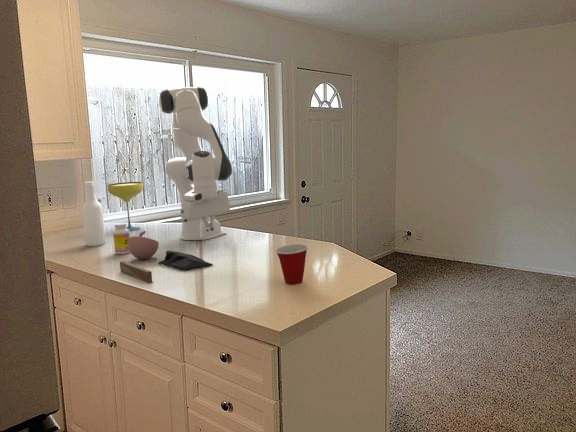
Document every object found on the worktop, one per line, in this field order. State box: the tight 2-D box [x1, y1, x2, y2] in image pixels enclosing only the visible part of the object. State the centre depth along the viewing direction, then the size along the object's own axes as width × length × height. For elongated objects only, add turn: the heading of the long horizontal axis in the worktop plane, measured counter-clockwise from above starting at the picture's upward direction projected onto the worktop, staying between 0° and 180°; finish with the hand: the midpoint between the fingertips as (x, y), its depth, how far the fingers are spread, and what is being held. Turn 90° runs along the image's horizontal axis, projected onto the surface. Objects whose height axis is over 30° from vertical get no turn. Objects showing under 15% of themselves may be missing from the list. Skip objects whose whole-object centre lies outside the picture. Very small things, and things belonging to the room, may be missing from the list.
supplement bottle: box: [112, 222, 131, 255], centre depth 215 cm, size 7×7×13 cm
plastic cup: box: [275, 243, 309, 286], centre depth 162 cm, size 11×11×12 cm
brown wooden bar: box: [119, 260, 153, 284], centre depth 177 cm, size 2×22×4 cm, turn 43°
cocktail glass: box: [107, 181, 144, 232], centre depth 266 cm, size 18×18×25 cm
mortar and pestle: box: [128, 230, 160, 260], centre depth 203 cm, size 12×12×11 cm
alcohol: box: [81, 180, 107, 247], centre depth 232 cm, size 9×9×30 cm
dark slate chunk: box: [157, 250, 214, 272], centre depth 192 cm, size 15×22×5 cm
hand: (209, 226), depth 198 cm, fingers closed
